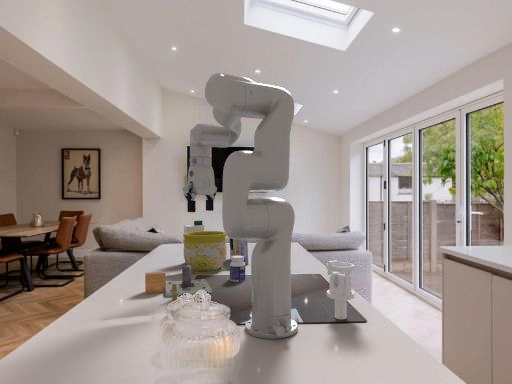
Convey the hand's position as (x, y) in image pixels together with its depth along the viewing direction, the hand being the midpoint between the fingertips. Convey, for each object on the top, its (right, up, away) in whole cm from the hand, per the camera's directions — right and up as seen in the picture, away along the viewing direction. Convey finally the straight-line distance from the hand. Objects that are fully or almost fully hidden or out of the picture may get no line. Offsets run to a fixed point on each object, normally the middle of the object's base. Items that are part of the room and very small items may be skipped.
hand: (200, 211), depth 127 cm
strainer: (+42, -26, -33) cm, 59 cm away
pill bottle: (+13, -27, +3) cm, 30 cm away
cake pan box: (+11, -27, +46) cm, 55 cm away
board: (-3, -27, -9) cm, 28 cm away
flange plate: (-6, -25, -10) cm, 28 cm away
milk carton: (-10, -27, +42) cm, 51 cm away
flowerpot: (-1, -27, +23) cm, 35 cm away
